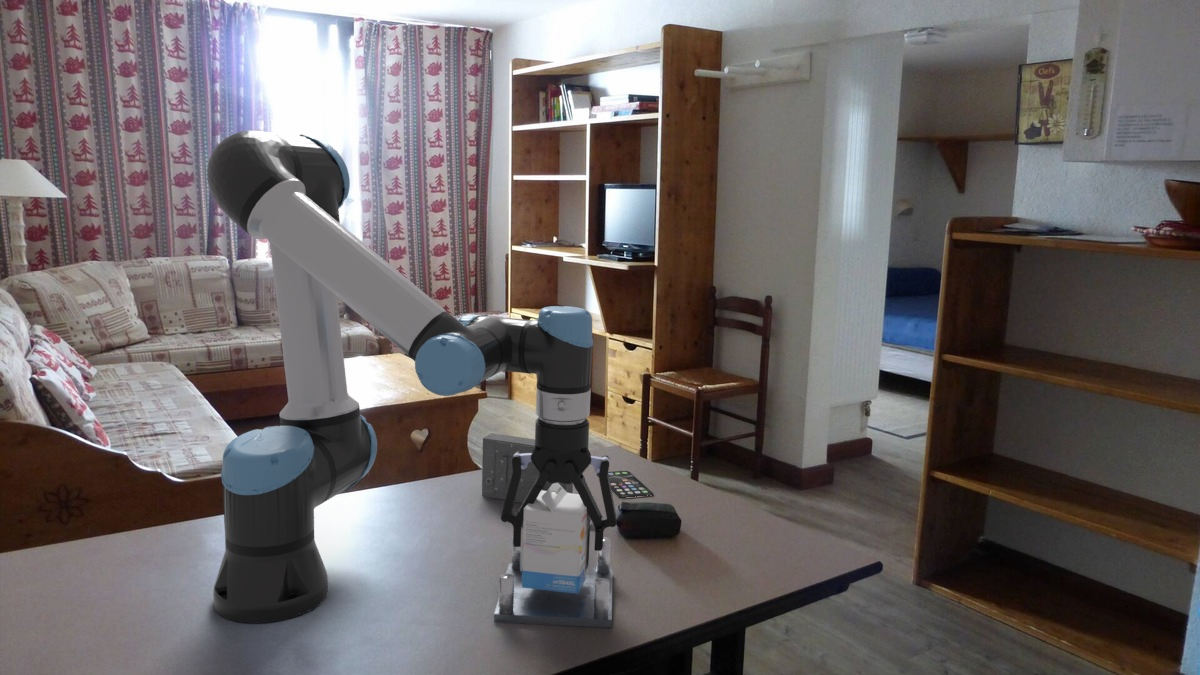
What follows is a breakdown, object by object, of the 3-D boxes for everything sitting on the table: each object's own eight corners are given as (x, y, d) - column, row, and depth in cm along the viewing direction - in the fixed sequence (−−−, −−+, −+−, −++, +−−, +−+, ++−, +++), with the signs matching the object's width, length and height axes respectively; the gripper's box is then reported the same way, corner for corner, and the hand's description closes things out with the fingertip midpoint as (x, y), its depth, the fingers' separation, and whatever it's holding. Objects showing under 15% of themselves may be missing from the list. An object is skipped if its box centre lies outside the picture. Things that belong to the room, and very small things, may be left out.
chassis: (493, 622, 117) (494, 579, 116) (508, 570, 133) (509, 532, 132) (611, 627, 117) (613, 585, 116) (612, 575, 133) (614, 537, 132)
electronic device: (572, 503, 162) (576, 400, 159) (558, 515, 156) (562, 408, 152) (489, 489, 168) (491, 389, 164) (472, 500, 161) (474, 397, 158)
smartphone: (628, 470, 181) (655, 494, 167) (628, 473, 181) (655, 498, 167) (595, 472, 179) (619, 497, 165) (595, 475, 179) (619, 500, 165)
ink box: (578, 595, 120) (582, 504, 117) (520, 587, 121) (522, 497, 119) (591, 569, 128) (595, 483, 126) (536, 562, 129) (539, 477, 127)
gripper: (480, 421, 117) (477, 576, 121) (641, 429, 116) (633, 584, 120) (489, 407, 124) (486, 554, 128) (639, 414, 124) (632, 561, 128)
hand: (557, 568), depth 124 cm, fingers open, 9 cm apart
